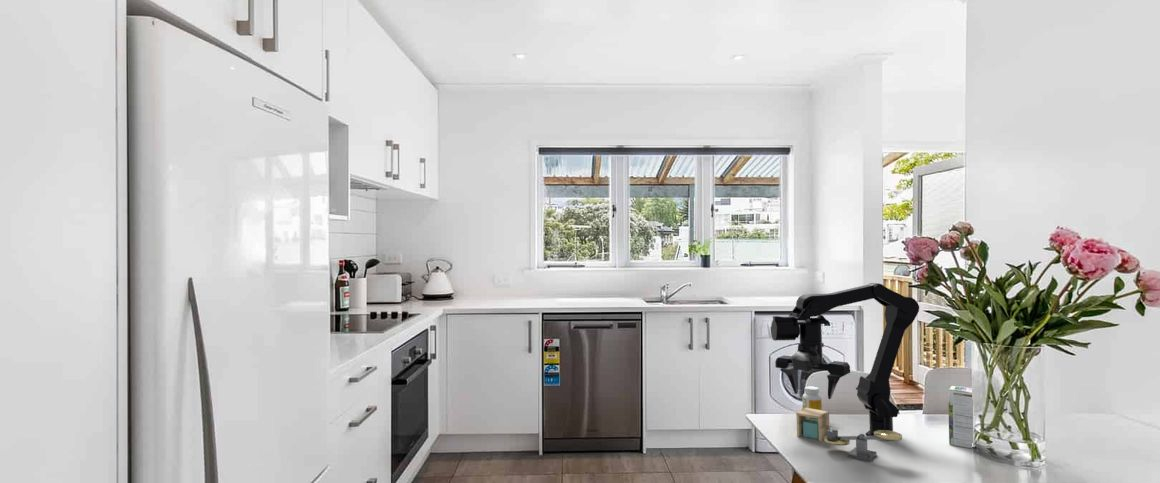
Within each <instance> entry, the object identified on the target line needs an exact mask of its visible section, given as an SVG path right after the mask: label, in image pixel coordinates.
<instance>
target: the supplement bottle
mask: <svg viewBox="0 0 1160 483" xmlns="http://www.w3.org/2000/svg"><path fill="white" fill-rule="evenodd" d="M819 388H820V387H817V386H812V385H811V386H809V385H808V386H805V387H804V393H803V395H802V399H801V400H802V409H804V408H810V409H816V410H822V406H823V405H822V403H823V402H822V396H821V395H820V394H819V393H820V389H819ZM822 411H823V410H822ZM808 419H814V420H818V419H817V418H811V417H808Z"/></svg>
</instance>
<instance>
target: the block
mask: <svg viewBox="0 0 1160 483" xmlns="http://www.w3.org/2000/svg"><path fill="white" fill-rule="evenodd" d="M802 437H806V438H811V439H816V440H819V433H818V420H814V419H807V420H805V421H803V435H802Z"/></svg>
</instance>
